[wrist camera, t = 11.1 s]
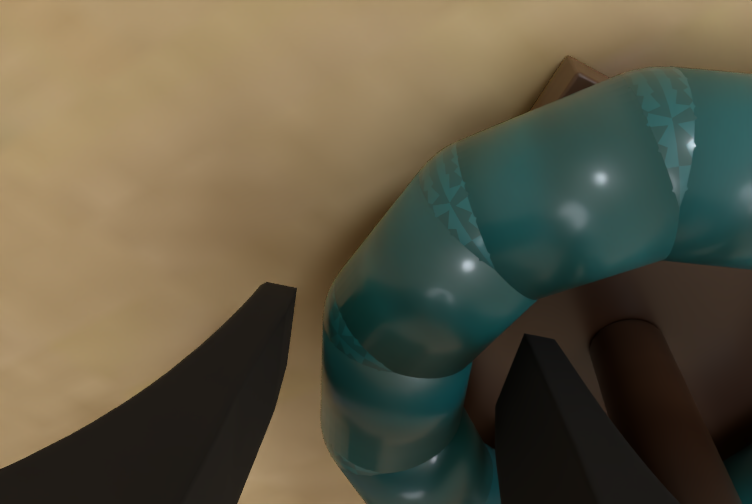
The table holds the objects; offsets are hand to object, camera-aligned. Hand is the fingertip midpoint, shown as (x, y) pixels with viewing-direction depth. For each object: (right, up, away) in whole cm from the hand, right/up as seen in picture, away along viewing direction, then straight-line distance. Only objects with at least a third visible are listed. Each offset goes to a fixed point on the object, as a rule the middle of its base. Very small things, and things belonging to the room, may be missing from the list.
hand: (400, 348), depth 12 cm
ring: (+5, -1, 0) cm, 5 cm away
